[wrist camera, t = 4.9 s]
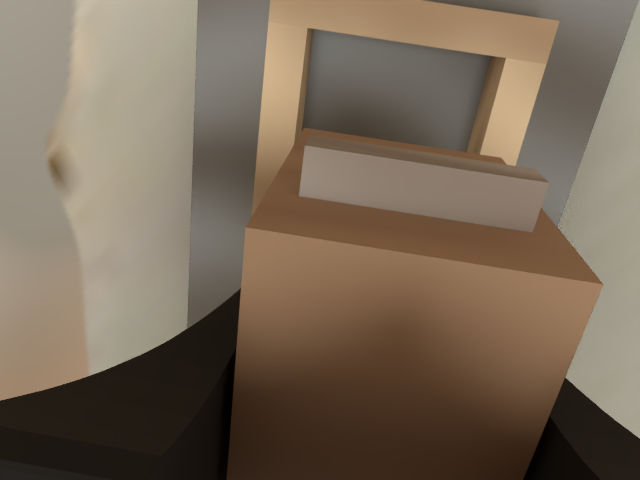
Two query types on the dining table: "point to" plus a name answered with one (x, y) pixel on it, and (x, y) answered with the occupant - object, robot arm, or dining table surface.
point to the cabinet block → (401, 316)
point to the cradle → (385, 96)
